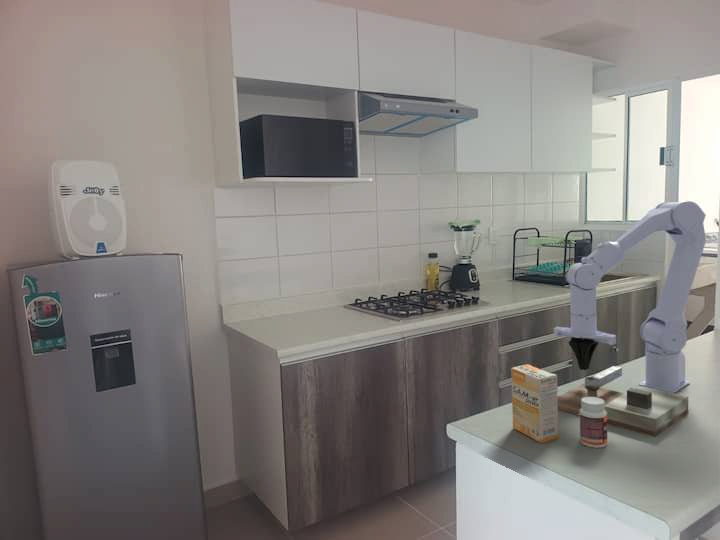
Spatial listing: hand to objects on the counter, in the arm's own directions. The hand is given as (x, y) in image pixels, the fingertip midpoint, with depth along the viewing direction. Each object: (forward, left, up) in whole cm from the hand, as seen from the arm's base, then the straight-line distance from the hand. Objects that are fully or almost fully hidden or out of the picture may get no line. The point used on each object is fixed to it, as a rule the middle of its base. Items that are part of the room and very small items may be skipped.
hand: (584, 368), depth 123 cm
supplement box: (+29, +5, -6) cm, 30 cm away
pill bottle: (+25, +15, -6) cm, 30 cm away
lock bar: (+3, +6, -1) cm, 7 cm away
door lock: (+7, +11, -5) cm, 14 cm away
